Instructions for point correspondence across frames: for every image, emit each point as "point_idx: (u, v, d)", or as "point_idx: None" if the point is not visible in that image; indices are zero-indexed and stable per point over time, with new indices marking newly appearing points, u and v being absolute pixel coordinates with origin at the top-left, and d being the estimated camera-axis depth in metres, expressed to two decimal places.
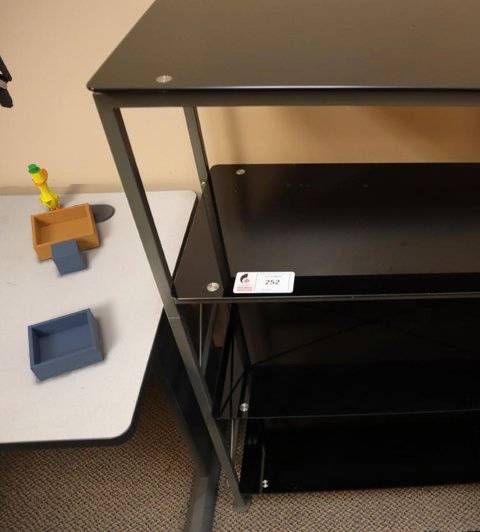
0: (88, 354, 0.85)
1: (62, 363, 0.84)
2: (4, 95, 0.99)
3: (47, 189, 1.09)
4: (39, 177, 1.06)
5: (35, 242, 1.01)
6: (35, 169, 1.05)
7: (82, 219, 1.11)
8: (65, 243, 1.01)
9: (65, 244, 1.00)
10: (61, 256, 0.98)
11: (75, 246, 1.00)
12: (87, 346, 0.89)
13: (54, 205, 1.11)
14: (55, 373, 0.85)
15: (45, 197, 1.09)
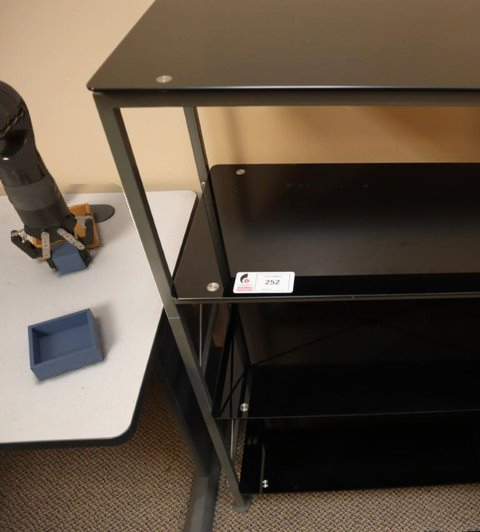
0: (88, 354, 0.85)
1: (62, 363, 0.84)
2: None
3: None
4: None
5: (35, 242, 1.01)
6: None
7: None
8: (65, 243, 1.01)
9: (65, 244, 1.00)
10: (61, 256, 0.98)
11: (75, 246, 1.00)
12: (87, 346, 0.89)
13: None
14: (55, 373, 0.85)
15: None
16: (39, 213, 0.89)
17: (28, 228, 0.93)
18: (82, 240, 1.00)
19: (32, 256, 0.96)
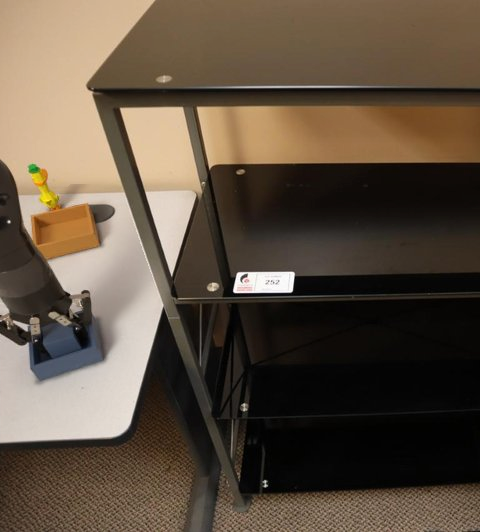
0: (88, 354, 0.85)
1: (62, 363, 0.84)
2: None
3: (47, 189, 1.09)
4: (39, 177, 1.06)
5: (35, 242, 1.01)
6: (35, 169, 1.05)
7: (82, 219, 1.11)
8: (59, 323, 0.86)
9: (58, 325, 0.86)
10: (54, 341, 0.84)
11: None
12: (87, 346, 0.89)
13: (54, 205, 1.11)
14: (55, 373, 0.85)
15: (45, 197, 1.09)
16: (26, 300, 0.75)
17: (14, 314, 0.78)
18: (78, 320, 0.86)
19: (19, 343, 0.82)
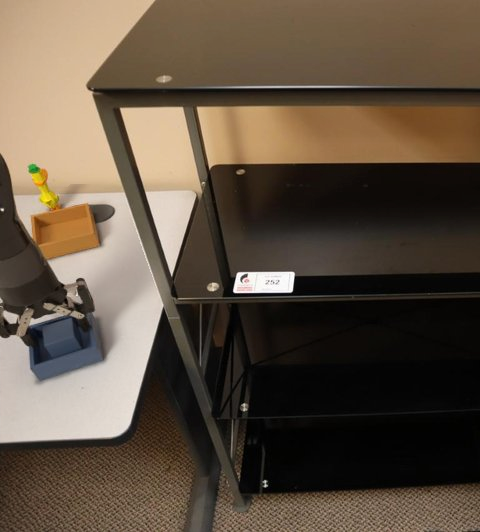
0: (88, 354, 0.85)
1: (62, 363, 0.84)
2: None
3: (47, 189, 1.09)
4: (39, 177, 1.06)
5: None
6: (35, 169, 1.05)
7: (82, 219, 1.11)
8: (59, 324, 0.86)
9: (59, 326, 0.86)
10: (54, 341, 0.84)
11: (71, 328, 0.86)
12: (87, 346, 0.89)
13: (54, 205, 1.11)
14: (55, 373, 0.85)
15: (45, 197, 1.09)
16: (20, 290, 0.73)
17: (10, 304, 0.77)
18: (81, 307, 0.84)
19: (3, 335, 0.79)
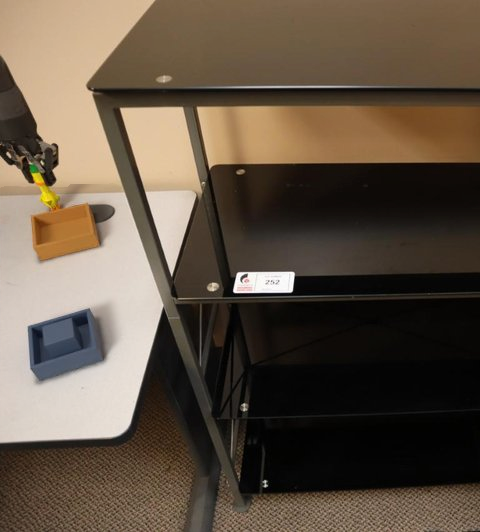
0: (88, 354, 0.85)
1: (62, 363, 0.84)
2: None
3: (48, 189, 1.09)
4: (40, 177, 1.06)
5: (35, 242, 1.01)
6: (36, 169, 1.05)
7: (82, 219, 1.11)
8: (59, 324, 0.86)
9: (59, 326, 0.86)
10: (54, 341, 0.84)
11: (71, 328, 0.86)
12: (87, 346, 0.89)
13: (54, 205, 1.11)
14: (55, 373, 0.85)
15: (46, 197, 1.09)
16: None
17: None
18: (45, 164, 1.05)
19: (7, 162, 1.05)
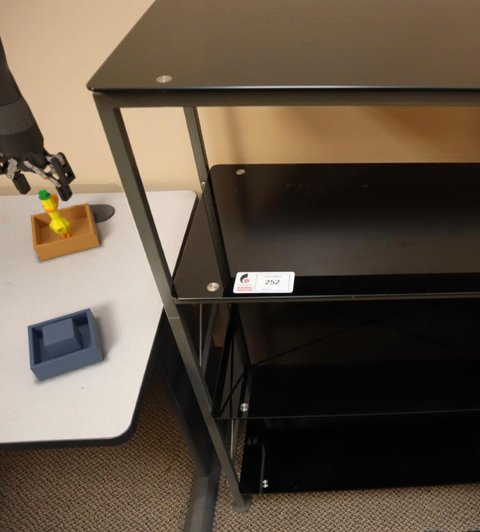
0: (88, 354, 0.85)
1: (62, 363, 0.84)
2: None
3: (58, 216, 1.03)
4: (50, 203, 1.00)
5: (35, 242, 1.01)
6: (46, 195, 0.99)
7: (82, 219, 1.11)
8: (59, 324, 0.86)
9: (59, 326, 0.86)
10: (54, 341, 0.84)
11: (71, 328, 0.86)
12: (87, 346, 0.89)
13: (65, 232, 1.05)
14: (55, 373, 0.85)
15: (56, 224, 1.03)
16: None
17: None
18: None
19: None
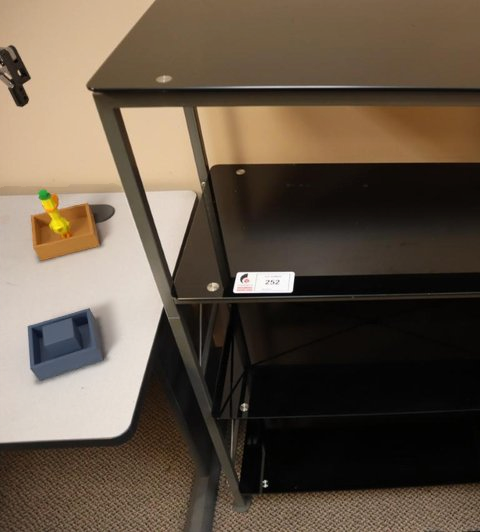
0: (88, 354, 0.85)
1: (62, 363, 0.84)
2: None
3: (58, 216, 1.03)
4: (50, 203, 1.00)
5: (35, 242, 1.01)
6: (46, 195, 0.99)
7: (82, 219, 1.11)
8: (59, 324, 0.86)
9: (59, 326, 0.86)
10: (54, 341, 0.84)
11: (71, 328, 0.86)
12: (87, 346, 0.89)
13: (65, 232, 1.05)
14: (55, 373, 0.85)
15: (56, 224, 1.03)
16: None
17: None
18: None
19: None
